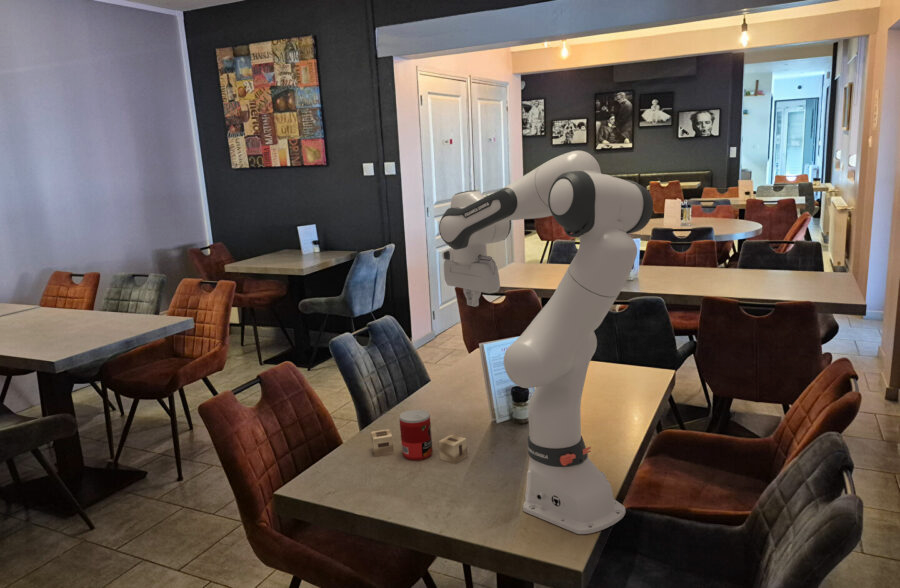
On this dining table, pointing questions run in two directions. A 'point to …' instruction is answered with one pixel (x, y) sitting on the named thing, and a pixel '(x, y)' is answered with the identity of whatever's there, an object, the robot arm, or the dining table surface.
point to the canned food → (416, 434)
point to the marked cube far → (382, 442)
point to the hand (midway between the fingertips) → (473, 305)
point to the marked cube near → (453, 449)
